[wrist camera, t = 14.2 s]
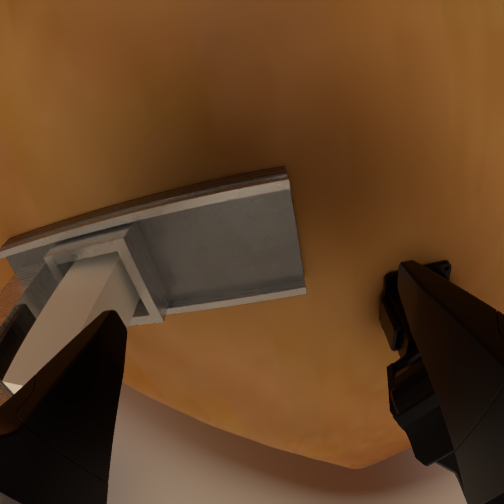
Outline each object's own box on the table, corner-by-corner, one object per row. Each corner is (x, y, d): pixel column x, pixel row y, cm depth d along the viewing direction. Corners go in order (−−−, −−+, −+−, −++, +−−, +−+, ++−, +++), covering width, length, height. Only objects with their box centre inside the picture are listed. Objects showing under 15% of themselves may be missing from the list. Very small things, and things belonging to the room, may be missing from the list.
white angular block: (127, 244, 22) (53, 391, 11) (143, 288, 24) (93, 432, 13) (76, 251, 22) (-5, 379, 12) (95, 291, 24) (35, 420, 14)
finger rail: (284, 166, 20) (328, 326, 9) (303, 275, 25) (332, 444, 13) (9, 238, 23) (-79, 345, 11) (52, 312, 28) (-5, 423, 16)
